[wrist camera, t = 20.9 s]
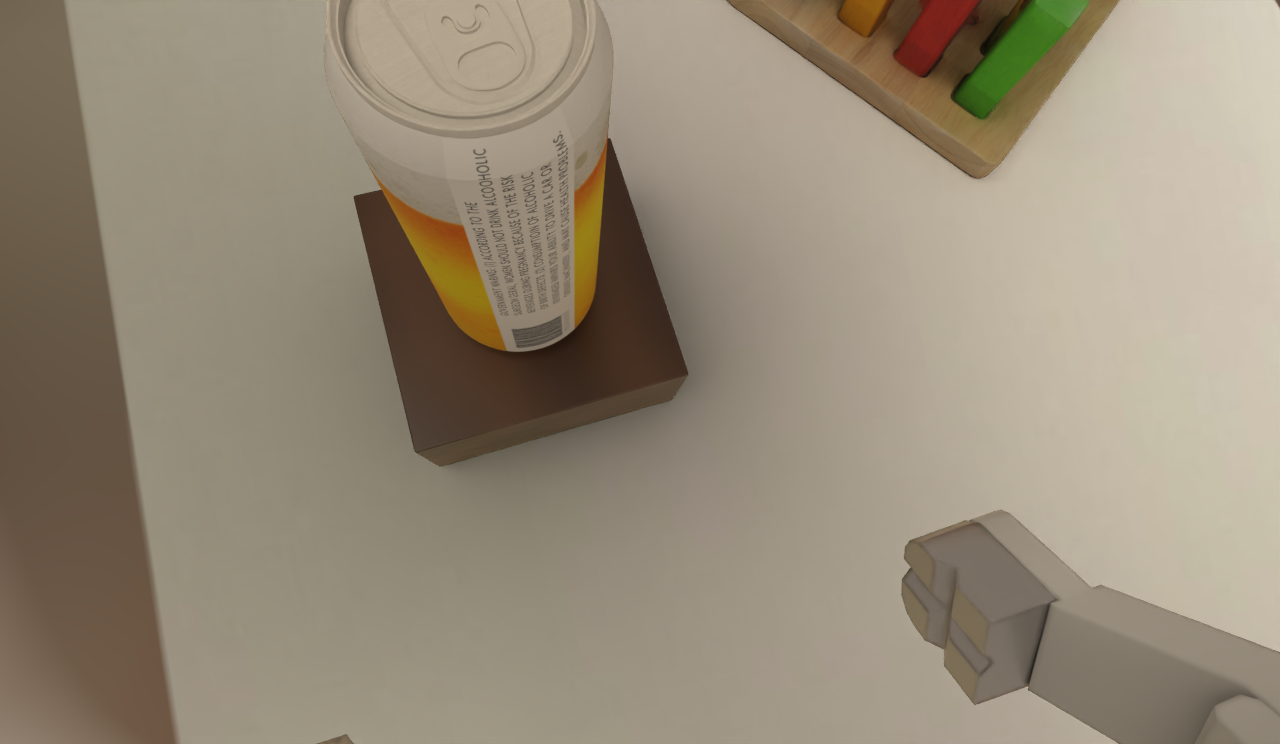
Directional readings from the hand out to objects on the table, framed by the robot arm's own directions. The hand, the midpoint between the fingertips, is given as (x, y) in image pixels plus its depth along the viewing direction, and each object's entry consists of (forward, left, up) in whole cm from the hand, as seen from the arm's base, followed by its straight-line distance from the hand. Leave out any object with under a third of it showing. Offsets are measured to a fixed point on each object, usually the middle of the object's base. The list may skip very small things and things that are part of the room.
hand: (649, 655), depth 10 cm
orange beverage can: (0, +12, -17) cm, 21 cm away
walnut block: (0, +12, -22) cm, 25 cm away
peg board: (+27, +25, -22) cm, 43 cm away
